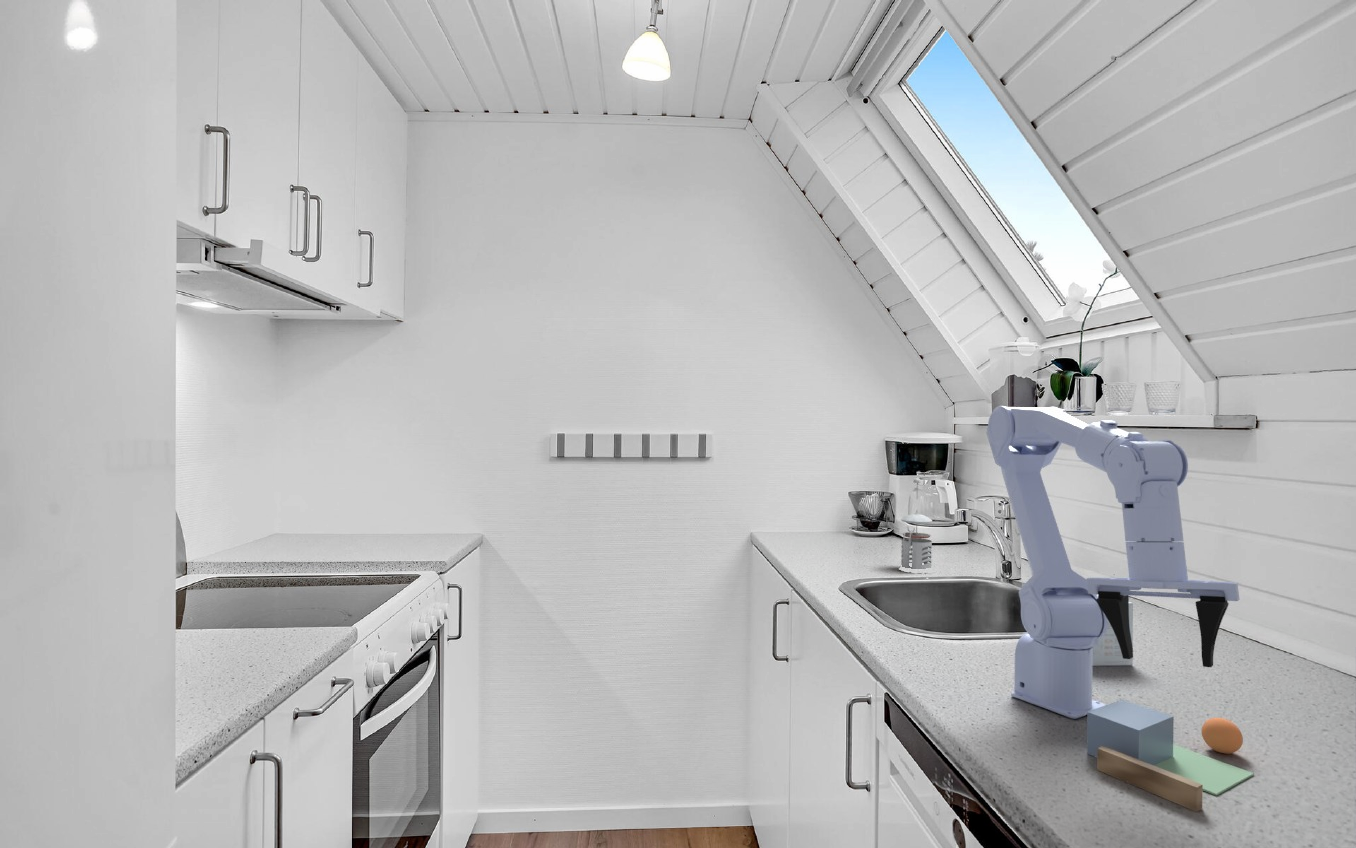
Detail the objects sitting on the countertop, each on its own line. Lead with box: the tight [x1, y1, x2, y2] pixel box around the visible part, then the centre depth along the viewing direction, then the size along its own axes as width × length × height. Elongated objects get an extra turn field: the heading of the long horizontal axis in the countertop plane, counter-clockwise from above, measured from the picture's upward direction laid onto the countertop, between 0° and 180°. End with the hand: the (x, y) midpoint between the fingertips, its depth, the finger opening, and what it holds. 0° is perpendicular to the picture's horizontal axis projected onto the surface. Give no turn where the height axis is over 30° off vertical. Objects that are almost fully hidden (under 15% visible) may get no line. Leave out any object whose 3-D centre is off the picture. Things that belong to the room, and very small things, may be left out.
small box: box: [1093, 594, 1134, 667], centre depth 119 cm, size 8×6×10 cm
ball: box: [1200, 717, 1244, 754], centre depth 85 cm, size 4×4×4 cm
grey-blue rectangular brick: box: [1086, 699, 1175, 765], centre depth 84 cm, size 6×8×5 cm
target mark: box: [1154, 743, 1255, 796], centre depth 81 cm, size 9×9×1 cm
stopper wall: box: [1096, 746, 1203, 813], centre depth 77 cm, size 10×1×2 cm, turn 30°
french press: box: [900, 477, 933, 569], centre depth 190 cm, size 10×12×25 cm
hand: (1166, 661), depth 81 cm, fingers open, 7 cm apart
